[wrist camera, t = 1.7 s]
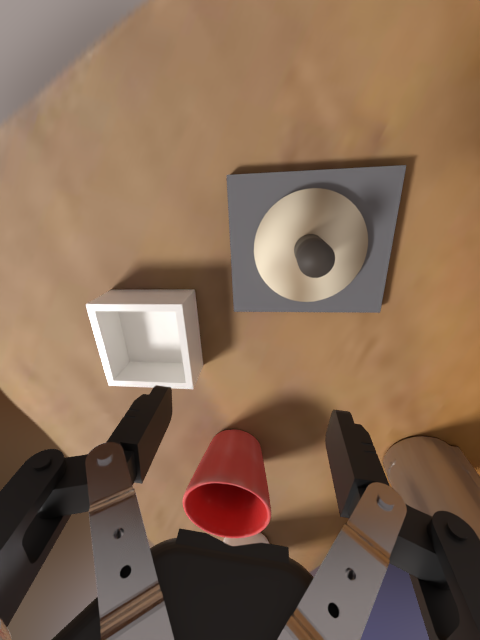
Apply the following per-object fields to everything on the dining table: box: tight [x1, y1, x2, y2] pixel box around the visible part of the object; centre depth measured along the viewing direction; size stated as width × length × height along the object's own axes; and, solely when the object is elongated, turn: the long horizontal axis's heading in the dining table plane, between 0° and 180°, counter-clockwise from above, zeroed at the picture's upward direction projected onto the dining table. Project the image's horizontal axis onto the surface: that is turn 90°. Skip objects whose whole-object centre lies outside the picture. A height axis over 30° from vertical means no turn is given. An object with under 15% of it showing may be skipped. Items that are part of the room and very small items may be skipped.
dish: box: [86, 289, 203, 389], centre depth 33 cm, size 11×11×5 cm
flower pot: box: [183, 429, 271, 538], centre depth 38 cm, size 11×11×10 cm
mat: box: [227, 165, 406, 312], centre depth 29 cm, size 16×14×1 cm
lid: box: [254, 188, 368, 302], centre depth 26 cm, size 11×11×6 cm
